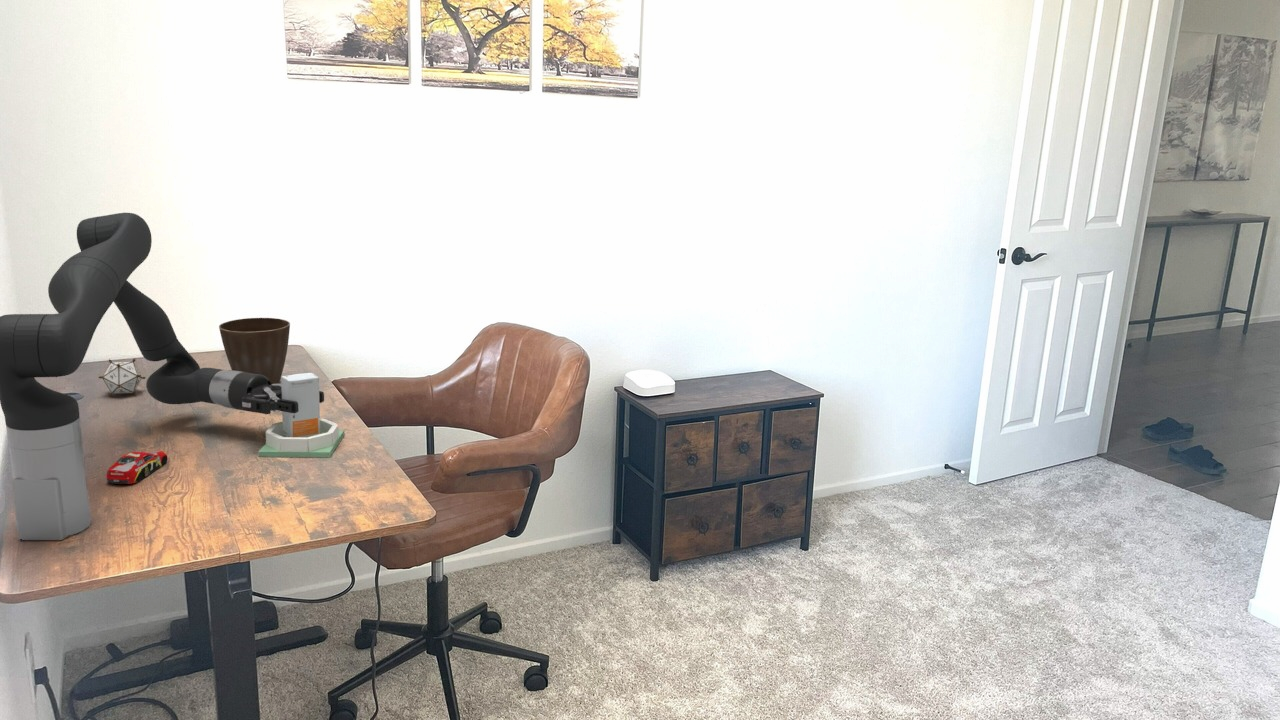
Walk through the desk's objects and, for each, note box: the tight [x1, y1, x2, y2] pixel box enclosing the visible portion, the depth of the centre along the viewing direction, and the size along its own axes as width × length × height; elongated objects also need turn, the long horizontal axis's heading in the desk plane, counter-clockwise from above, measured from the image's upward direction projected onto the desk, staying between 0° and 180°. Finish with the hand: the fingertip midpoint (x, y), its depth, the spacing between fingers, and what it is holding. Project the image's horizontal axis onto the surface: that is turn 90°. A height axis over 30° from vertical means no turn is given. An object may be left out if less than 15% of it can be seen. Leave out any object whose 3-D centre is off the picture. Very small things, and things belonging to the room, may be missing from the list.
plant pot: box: [218, 317, 291, 384], centre depth 209 cm, size 15×15×16 cm
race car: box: [106, 449, 168, 485], centre depth 161 cm, size 13×5×4 cm, turn 177°
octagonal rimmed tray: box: [258, 418, 345, 458], centre depth 178 cm, size 13×13×4 cm
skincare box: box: [280, 372, 321, 437], centre depth 177 cm, size 6×4×12 cm
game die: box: [98, 358, 146, 398], centre depth 204 cm, size 9×8×10 cm
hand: (310, 402), depth 176 cm, fingers closed on skincare box, 7 cm apart
